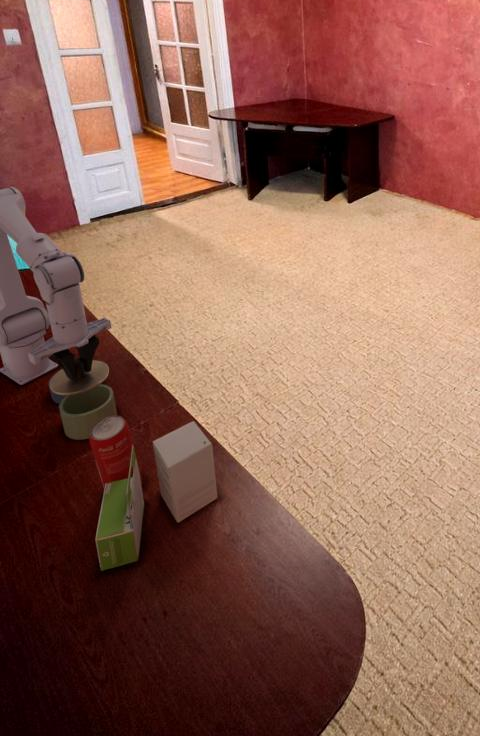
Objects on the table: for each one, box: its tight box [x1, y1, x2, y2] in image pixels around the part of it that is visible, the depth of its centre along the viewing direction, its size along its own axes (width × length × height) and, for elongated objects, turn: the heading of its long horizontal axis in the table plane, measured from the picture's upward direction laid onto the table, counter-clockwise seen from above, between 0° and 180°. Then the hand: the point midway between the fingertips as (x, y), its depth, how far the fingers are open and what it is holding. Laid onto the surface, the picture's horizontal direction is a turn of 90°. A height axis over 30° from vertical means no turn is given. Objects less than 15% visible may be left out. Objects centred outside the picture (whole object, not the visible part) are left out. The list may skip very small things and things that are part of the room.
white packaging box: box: [152, 420, 218, 524], centre depth 83 cm, size 7×7×13 cm
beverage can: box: [88, 415, 143, 490], centre depth 83 cm, size 6×6×15 cm
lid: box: [48, 357, 110, 395], centre depth 98 cm, size 10×10×5 cm
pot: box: [58, 383, 118, 441], centre depth 98 cm, size 9×9×6 cm
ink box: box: [95, 443, 145, 572], centre depth 75 cm, size 10×5×14 cm, turn 22°
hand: (79, 373), depth 98 cm, fingers closed on lid, 2 cm apart
